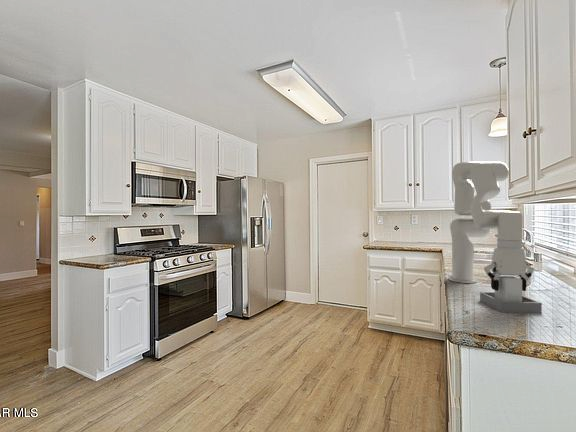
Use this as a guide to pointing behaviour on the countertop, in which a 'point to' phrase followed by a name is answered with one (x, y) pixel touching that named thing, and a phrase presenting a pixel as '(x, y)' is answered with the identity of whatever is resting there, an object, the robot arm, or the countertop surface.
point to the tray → (511, 304)
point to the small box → (509, 289)
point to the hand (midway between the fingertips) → (508, 289)
